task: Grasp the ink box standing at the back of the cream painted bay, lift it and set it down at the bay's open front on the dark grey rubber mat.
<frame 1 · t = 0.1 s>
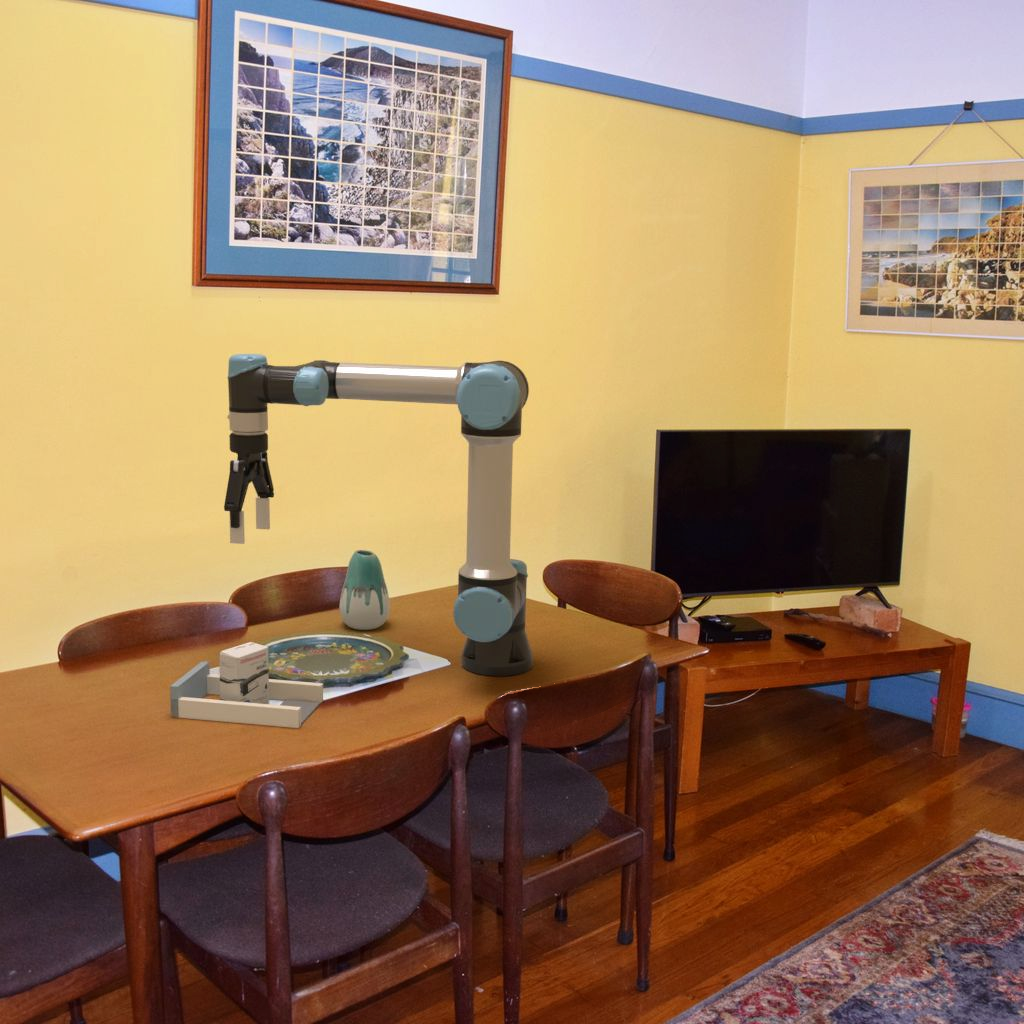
hand: (250, 536, 245), 28 cm above the table, fingers open, 13 cm apart
vase: (364, 627, 281), on the table
bay: (250, 708, 228), on the table
ink box: (245, 709, 228), resting in bay
mat: (293, 712, 227), on the table
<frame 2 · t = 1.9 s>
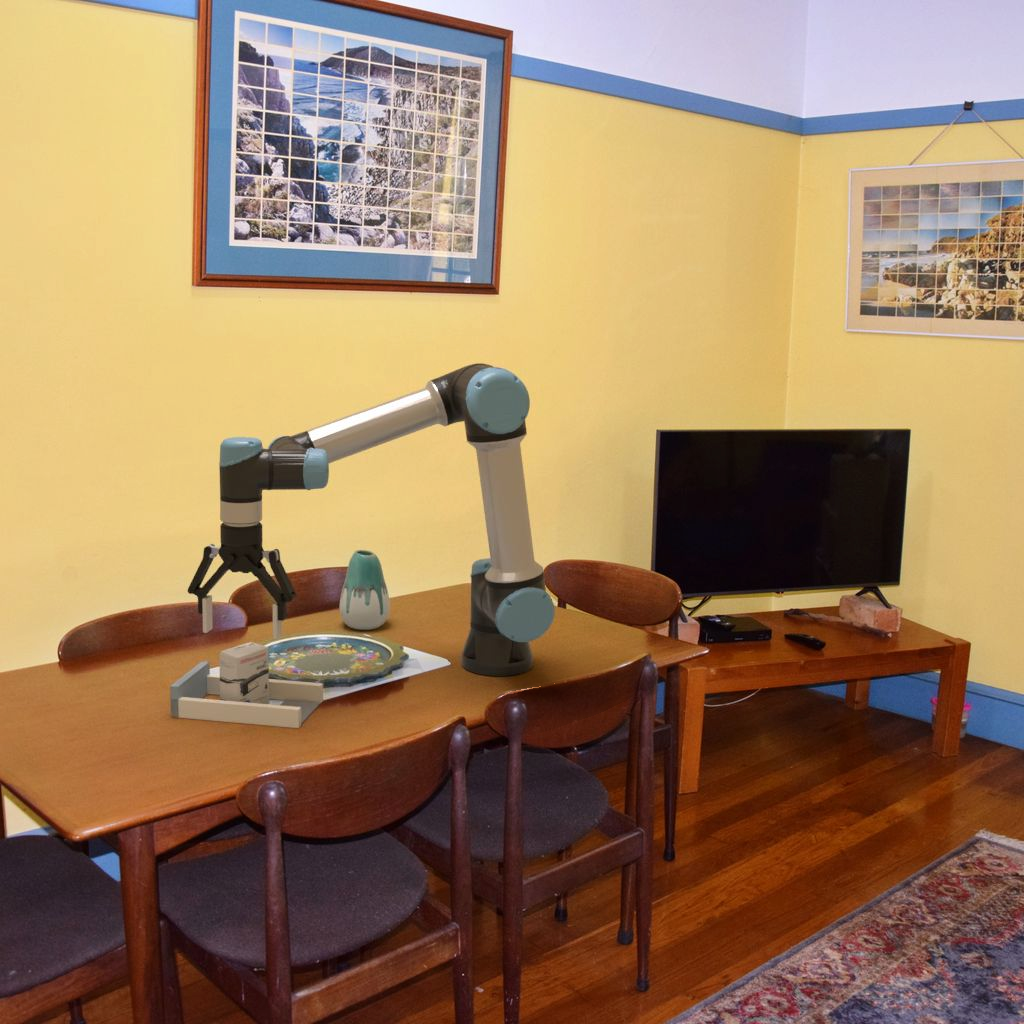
hand: (242, 633, 225), 15 cm above the table, fingers open, 13 cm apart
nothing on the table moved.
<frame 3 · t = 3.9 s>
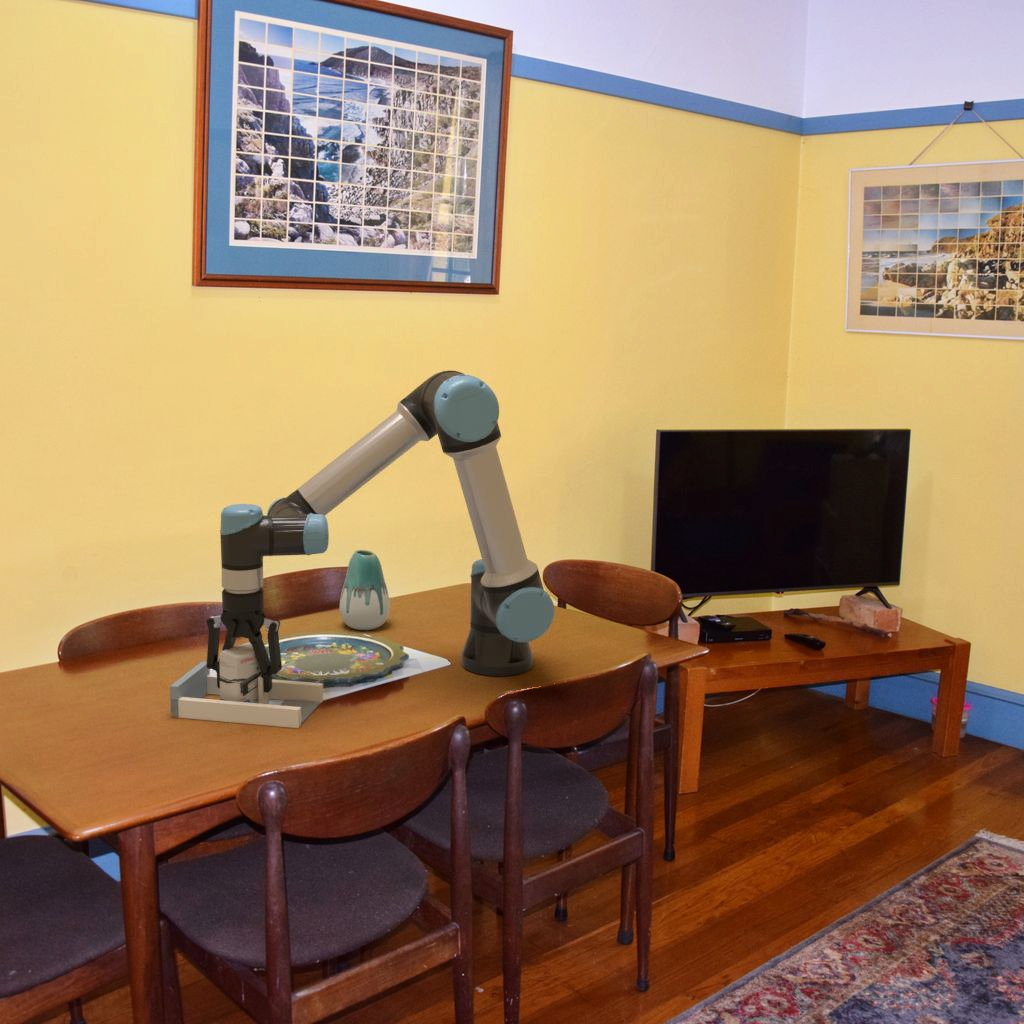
hand: (245, 705, 228), 0 cm above the table, fingers closed on ink box, 6 cm apart
ink box: (245, 709, 228), resting in bay, touching gripper
everything else where it was.
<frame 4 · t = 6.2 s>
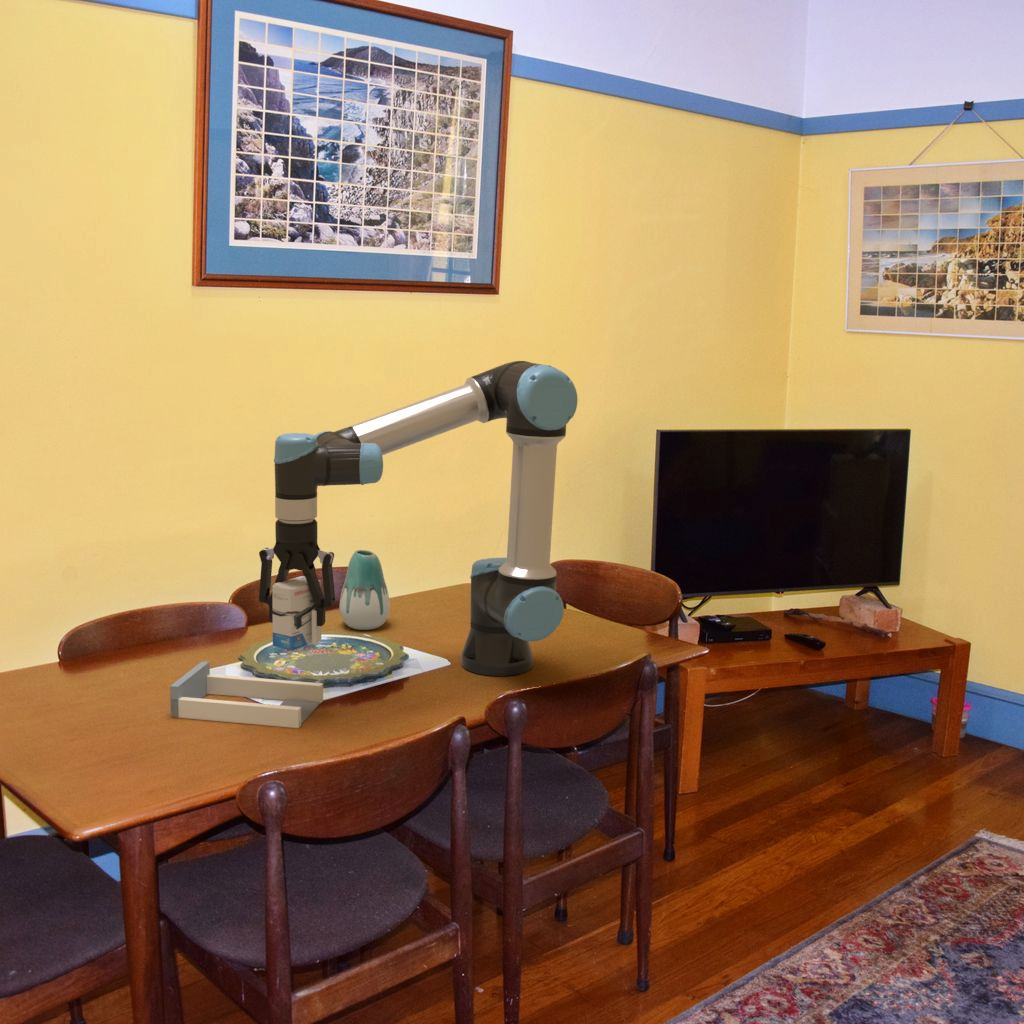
hand: (297, 640, 224), 14 cm above the table, fingers closed on ink box, 6 cm apart
ink box: (297, 644, 224), point 13 cm above the table, touching gripper
everything else where it was.
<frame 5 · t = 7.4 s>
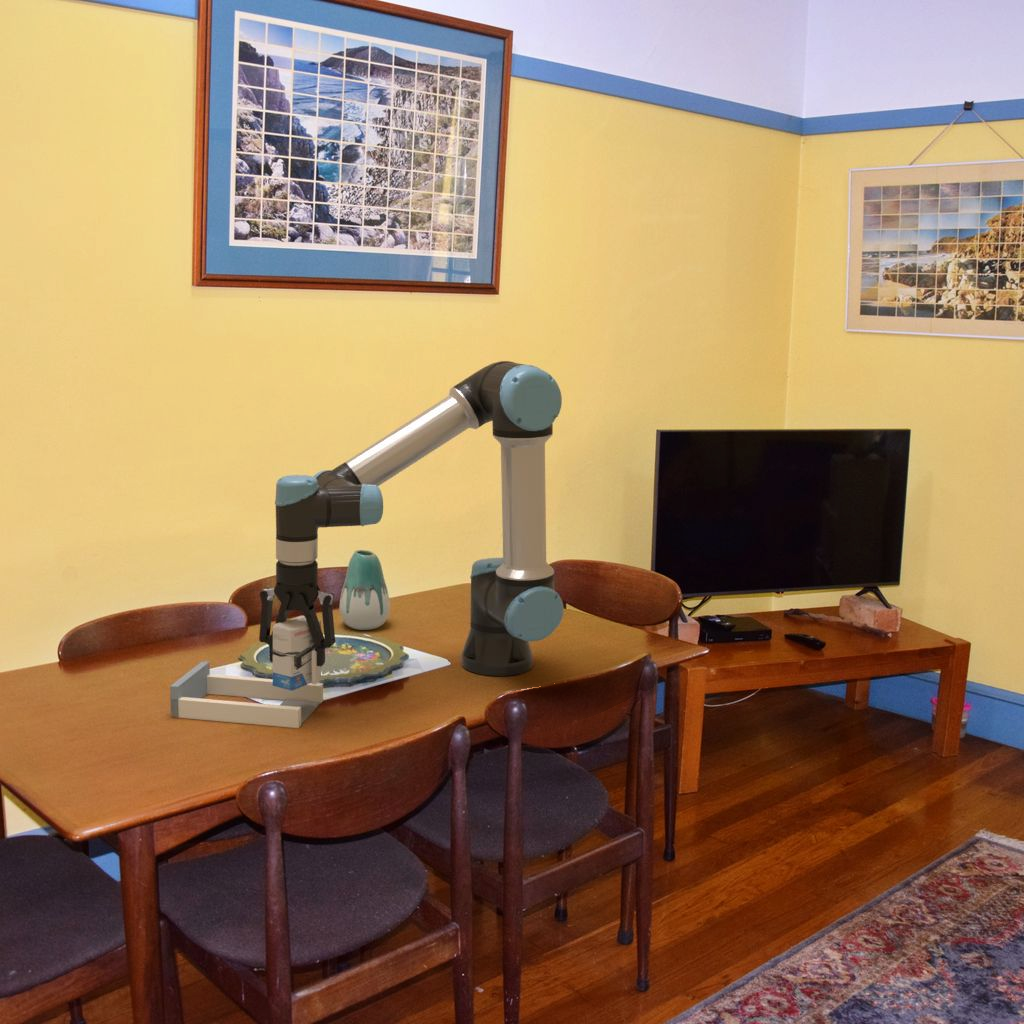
hand: (297, 680, 225), 6 cm above the table, fingers closed on ink box, 6 cm apart
ink box: (297, 683, 225), point 6 cm above the table, touching gripper
everything else where it was.
when the fingers open (2 cm above the table, at t = 8.5 s): ink box drops 2 cm, resting on mat.
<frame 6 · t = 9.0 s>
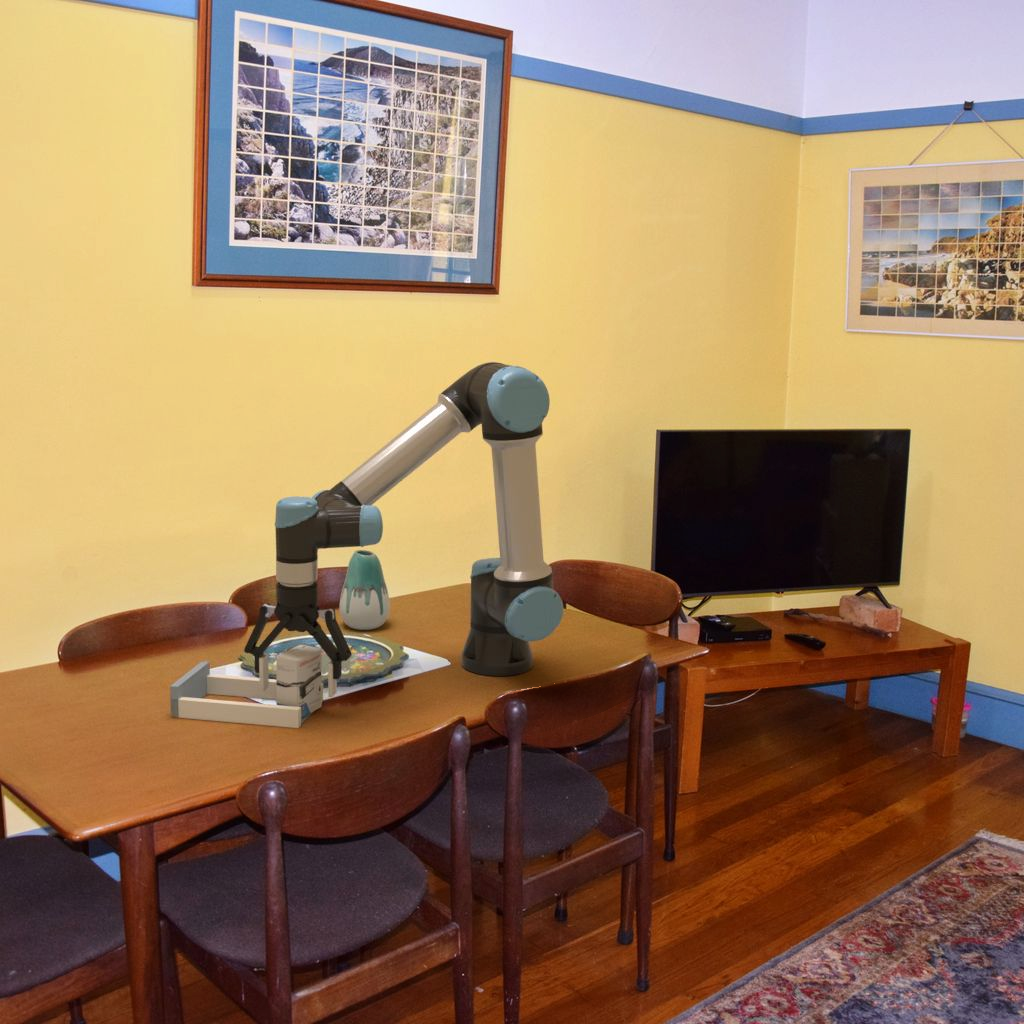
hand: (298, 692, 226), 4 cm above the table, fingers open, 13 cm apart
ink box: (299, 712, 226), resting on mat
everything else where it was.
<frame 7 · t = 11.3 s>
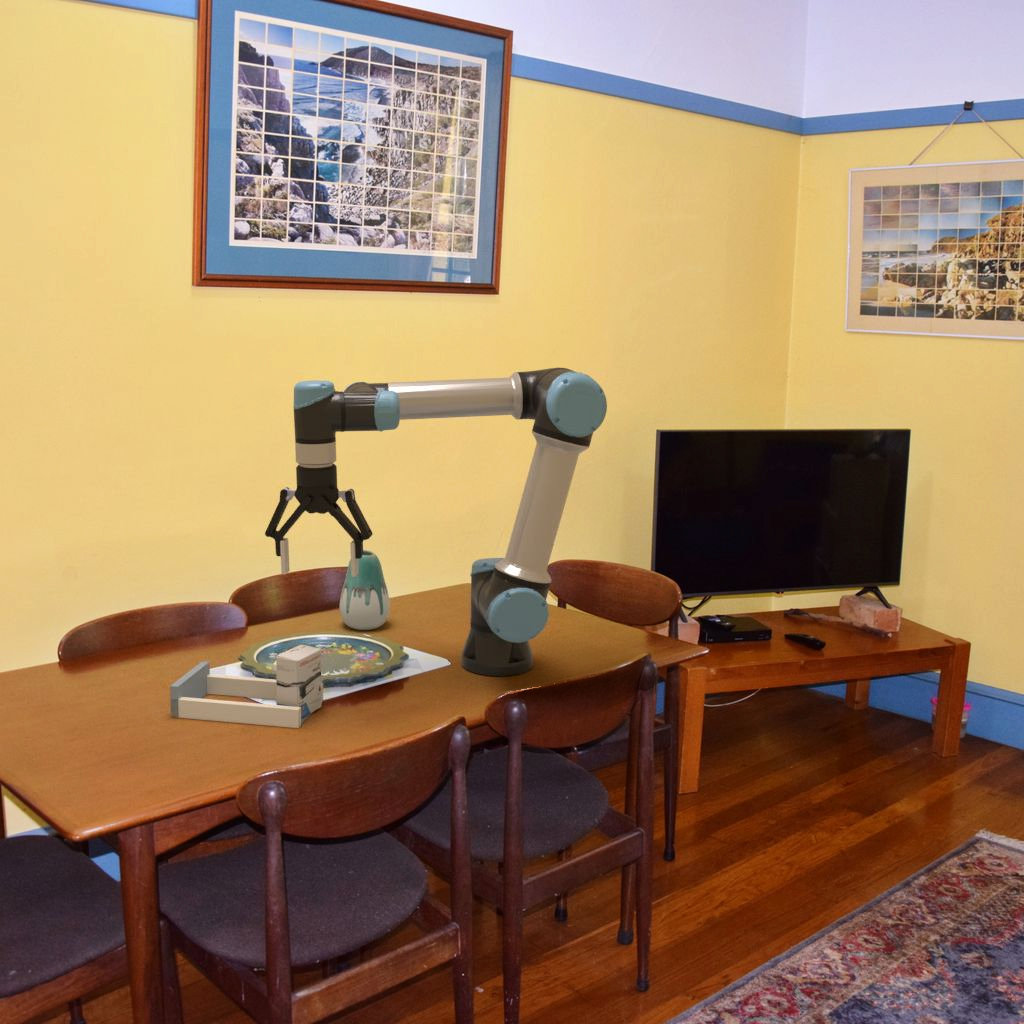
hand: (320, 573, 230), 25 cm above the table, fingers open, 13 cm apart
nothing on the table moved.
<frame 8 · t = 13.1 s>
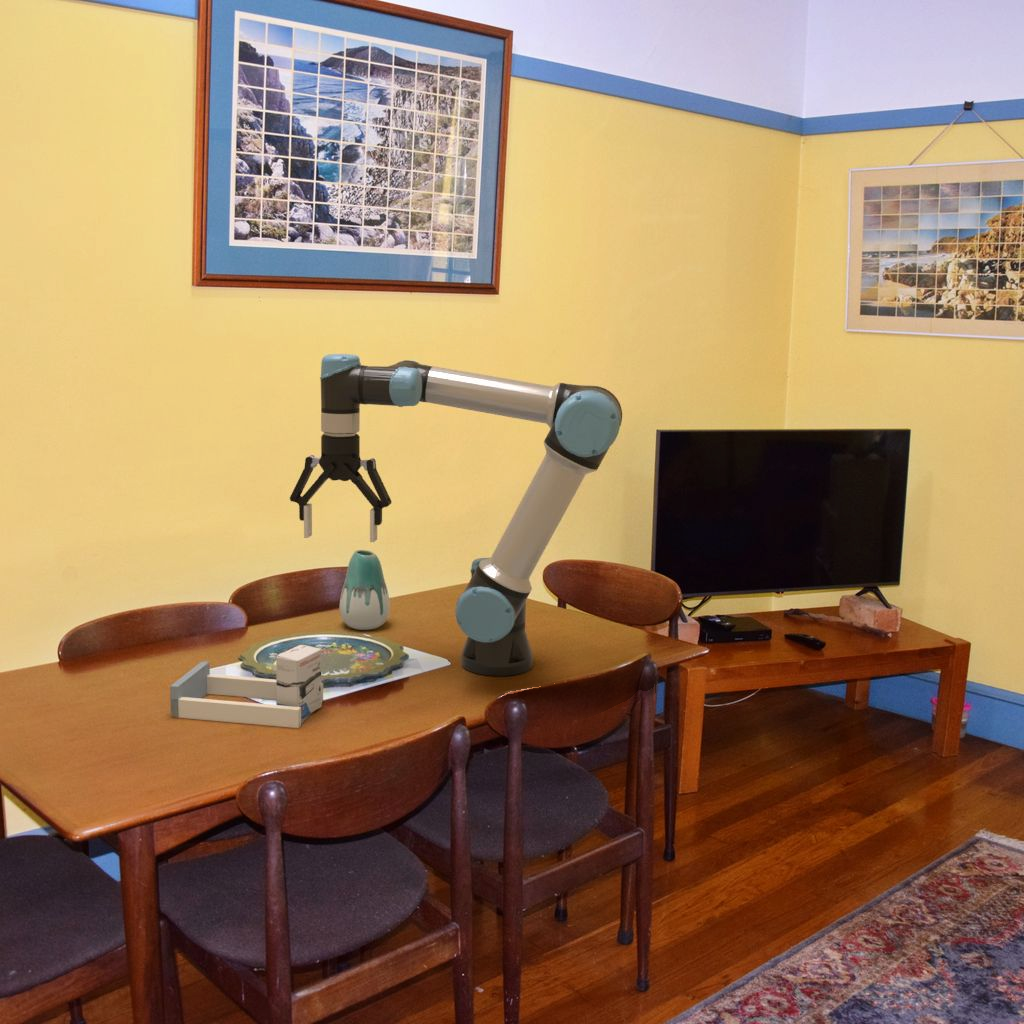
hand: (340, 538, 242), 29 cm above the table, fingers open, 13 cm apart
nothing on the table moved.
at the end: ink box inside the target area (1.1 cm from its centre), resting on mat; ink box tilted 0°; the gripper is holding nothing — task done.
